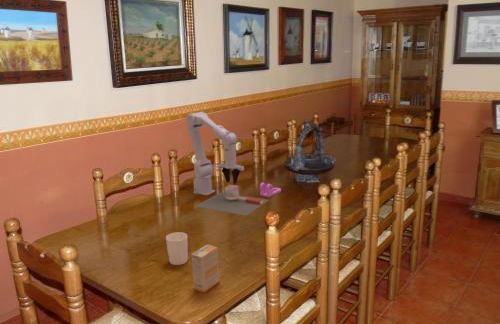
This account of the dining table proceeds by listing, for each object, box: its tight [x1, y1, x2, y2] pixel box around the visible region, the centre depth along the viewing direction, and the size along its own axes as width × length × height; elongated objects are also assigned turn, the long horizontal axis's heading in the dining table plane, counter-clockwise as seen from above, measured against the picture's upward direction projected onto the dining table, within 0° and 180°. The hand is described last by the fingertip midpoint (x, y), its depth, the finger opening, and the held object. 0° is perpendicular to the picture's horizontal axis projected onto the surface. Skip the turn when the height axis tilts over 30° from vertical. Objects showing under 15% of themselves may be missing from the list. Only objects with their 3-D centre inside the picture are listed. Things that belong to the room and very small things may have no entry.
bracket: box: [259, 182, 282, 198], centre depth 241 cm, size 13×6×7 cm, turn 141°
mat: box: [194, 191, 270, 216], centre depth 228 cm, size 30×24×1 cm
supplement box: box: [190, 244, 220, 293], centre depth 149 cm, size 8×5×13 cm, turn 145°
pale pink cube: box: [224, 184, 240, 198], centre depth 232 cm, size 5×5×5 cm
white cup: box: [165, 231, 189, 266], centre depth 168 cm, size 8×8×10 cm
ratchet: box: [226, 194, 264, 206], centre depth 229 cm, size 21×7×5 cm, turn 60°
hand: (231, 182), depth 231 cm, fingers open, 4 cm apart
